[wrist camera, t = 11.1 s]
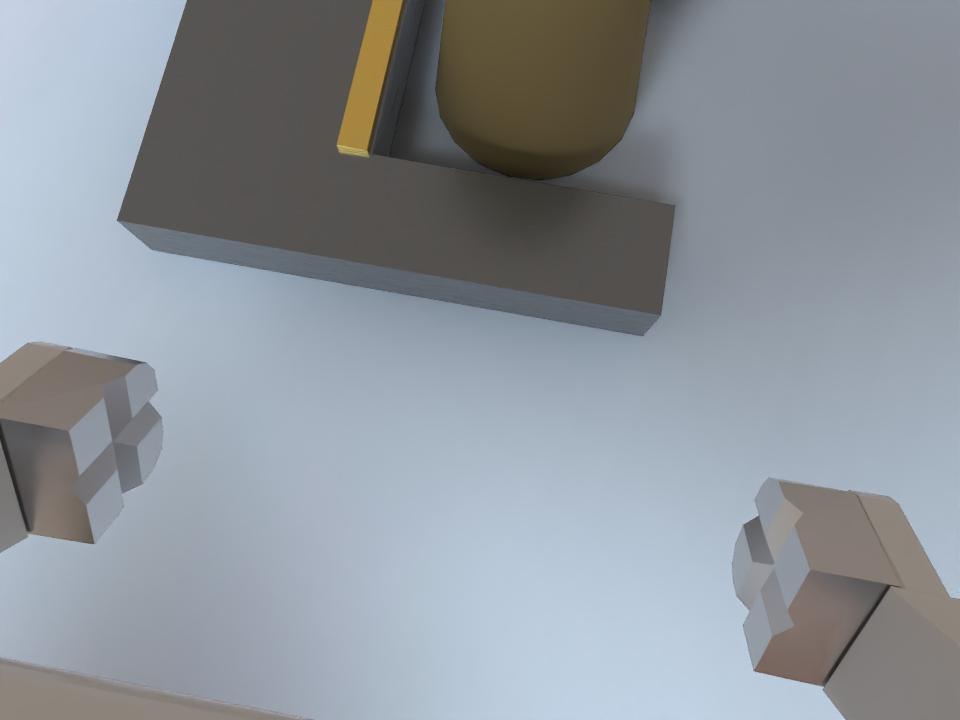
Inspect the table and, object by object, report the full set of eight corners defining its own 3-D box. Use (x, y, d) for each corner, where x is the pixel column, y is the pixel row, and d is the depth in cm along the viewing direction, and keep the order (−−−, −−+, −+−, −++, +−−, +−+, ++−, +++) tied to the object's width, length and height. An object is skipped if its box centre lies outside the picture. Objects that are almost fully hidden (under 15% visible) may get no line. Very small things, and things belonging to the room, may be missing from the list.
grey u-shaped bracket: (698, -82, 23) (722, -145, 21) (642, 336, 20) (662, 313, 18) (272, -147, 23) (251, -216, 21) (151, 249, 20) (113, 217, 18)
